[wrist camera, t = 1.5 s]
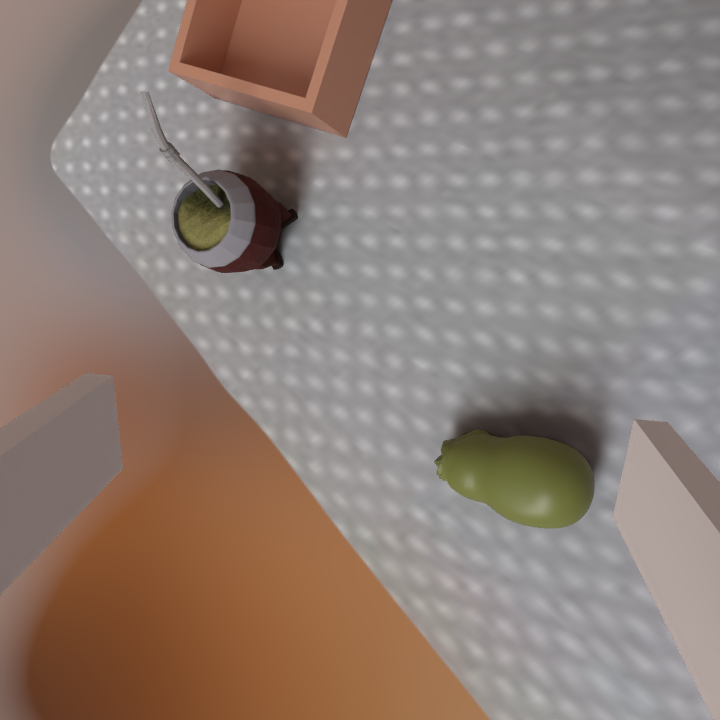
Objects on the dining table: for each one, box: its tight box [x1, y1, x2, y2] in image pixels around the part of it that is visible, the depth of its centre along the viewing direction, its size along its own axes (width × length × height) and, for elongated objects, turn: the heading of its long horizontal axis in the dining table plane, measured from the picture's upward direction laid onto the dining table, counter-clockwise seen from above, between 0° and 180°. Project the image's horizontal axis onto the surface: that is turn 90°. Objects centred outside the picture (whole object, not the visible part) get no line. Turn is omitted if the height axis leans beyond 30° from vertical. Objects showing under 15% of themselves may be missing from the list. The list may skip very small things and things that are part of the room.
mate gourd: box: [141, 92, 298, 273], centre depth 40 cm, size 8×8×15 cm
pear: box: [435, 429, 594, 528], centre depth 38 cm, size 6×5×10 cm
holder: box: [168, 0, 392, 138], centre depth 42 cm, size 13×13×6 cm
